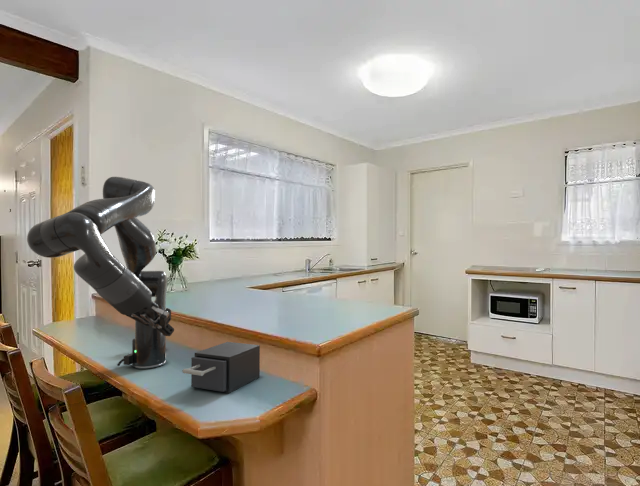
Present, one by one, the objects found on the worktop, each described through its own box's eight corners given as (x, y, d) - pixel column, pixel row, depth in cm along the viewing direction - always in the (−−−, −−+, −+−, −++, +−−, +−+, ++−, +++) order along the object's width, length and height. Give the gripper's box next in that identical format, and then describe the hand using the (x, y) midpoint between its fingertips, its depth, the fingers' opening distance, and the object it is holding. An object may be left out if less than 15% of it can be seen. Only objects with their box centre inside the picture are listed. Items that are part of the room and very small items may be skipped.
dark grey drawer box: (229, 393, 104) (229, 357, 104) (194, 387, 108) (194, 352, 108) (259, 377, 117) (259, 345, 117) (227, 372, 121) (227, 341, 121)
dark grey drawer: (208, 399, 97) (208, 368, 97) (175, 393, 101) (175, 363, 101) (252, 377, 114) (252, 350, 114) (222, 372, 118) (222, 346, 118)
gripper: (156, 277, 81) (198, 322, 93) (113, 276, 85) (159, 319, 97) (133, 304, 76) (181, 348, 88) (89, 301, 80) (141, 343, 92)
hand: (169, 332), depth 92 cm, fingers closed
